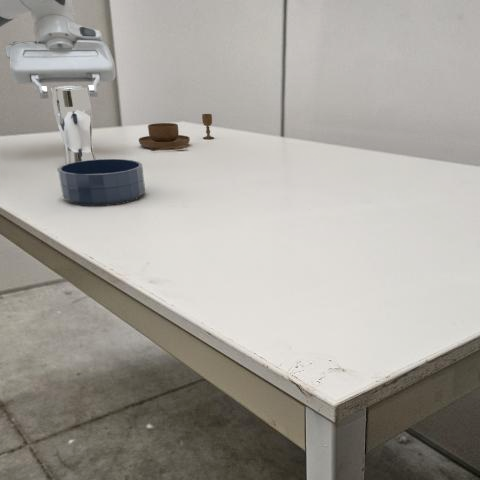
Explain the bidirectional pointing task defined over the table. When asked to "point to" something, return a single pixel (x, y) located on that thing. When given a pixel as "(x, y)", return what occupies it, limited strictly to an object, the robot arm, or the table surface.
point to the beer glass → (74, 121)
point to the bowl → (101, 181)
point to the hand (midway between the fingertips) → (69, 95)
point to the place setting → (170, 135)
